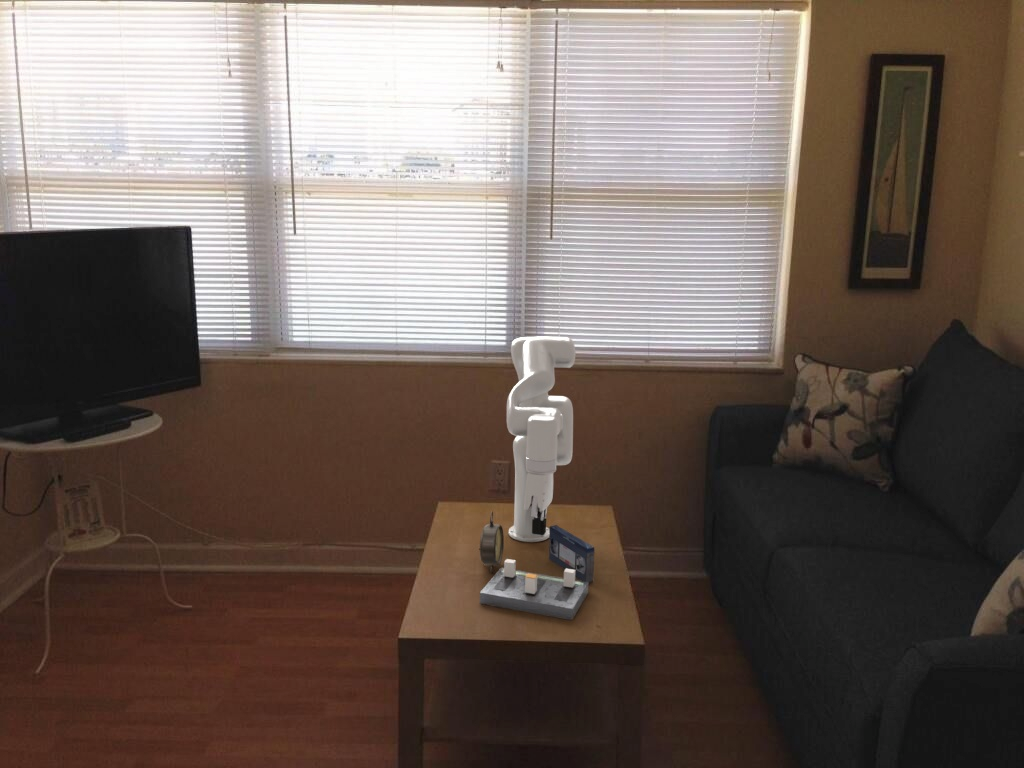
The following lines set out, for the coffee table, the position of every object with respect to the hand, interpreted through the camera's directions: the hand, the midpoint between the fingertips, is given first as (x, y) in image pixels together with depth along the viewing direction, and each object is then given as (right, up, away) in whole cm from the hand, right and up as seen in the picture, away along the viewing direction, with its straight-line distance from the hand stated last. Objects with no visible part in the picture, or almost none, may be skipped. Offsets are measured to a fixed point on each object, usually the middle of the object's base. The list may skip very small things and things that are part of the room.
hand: (538, 533), depth 230 cm
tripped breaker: (-2, -14, -2) cm, 15 cm away
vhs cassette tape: (+9, -14, +19) cm, 25 cm away
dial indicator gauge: (-13, -13, +20) cm, 27 cm away
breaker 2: (+8, -14, +2) cm, 16 cm away
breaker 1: (-7, -12, +7) cm, 16 cm away
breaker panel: (-1, -17, +2) cm, 17 cm away
